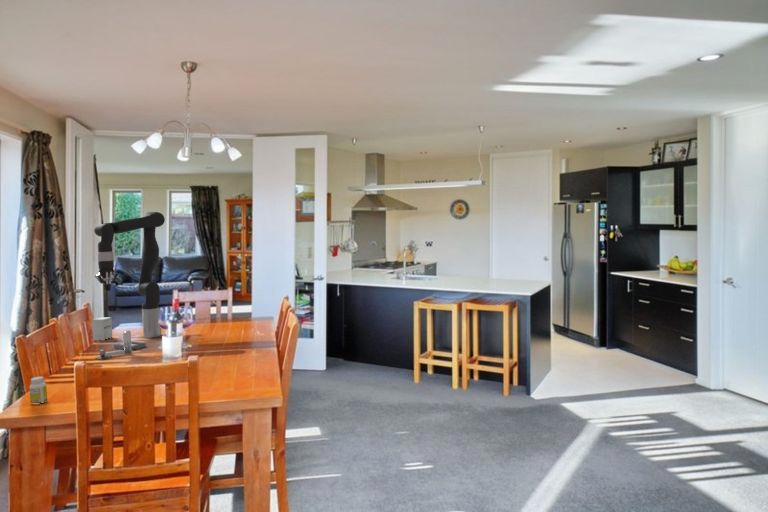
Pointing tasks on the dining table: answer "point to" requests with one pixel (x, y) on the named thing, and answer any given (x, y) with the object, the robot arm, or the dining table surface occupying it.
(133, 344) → the server lid
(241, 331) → the dining table surface
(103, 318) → the supplement box
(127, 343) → the cable arm
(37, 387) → the supplement bottle
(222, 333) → the dining table surface
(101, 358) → the hinge foot
